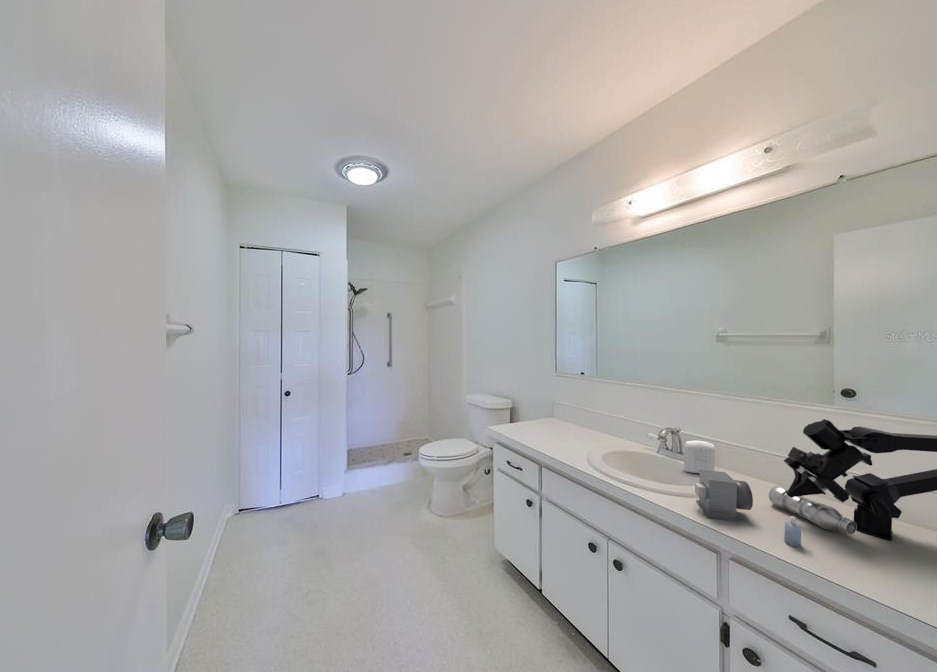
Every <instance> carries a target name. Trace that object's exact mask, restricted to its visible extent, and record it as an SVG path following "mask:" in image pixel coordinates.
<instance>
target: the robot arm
mask: <svg viewBox="0 0 937 672" xmlns="http://www.w3.org/2000/svg"><path fill="white" fill-rule="evenodd" d="M802 433H803V434H804V435H805V436H806V437H807V438H809V440H810V441H812V442H813V443H814V444H816V446H818V447H819V448H820V449H821V450H824V451H825V450H828V451H826V452H824V453H823V454H820V453H818V452H817V453H815V452H812V451H809V452H806V451H803V450H801V449H799V448H797V447H794V446H792V447H791V450H790V451H789V453H788V455H787V456H788V457H786V458H785V459H783V462H784V463H785V464H786V465H787V466H789V468H790V469H792V470H793V473H794V479H793V481H792V484H791V485H789V488H788V489H789V490H788V491H787V493H786V494H787V495H788V496H789V497H798V496H802V497H804V496H812V495H824V496H825V495H827V493H826V491H827V490H828V491H829V492H830V494H832V495H833V498H835V499H836V500H837V501H839V502H841V503H845V502H846V501H848V500H849V499H851V501H852V502H853V503H856V504H857V506H856V507H857V508H856V507H855V508H854V510H853V521H854V522H855V523H856V524H857V530H856V532H861V533H864V534H868V535H872V536H874V537H878V538H881V539H884V540H887V541H893V532H894V530H893V519H899V518H900V516H901V514H902V510H901V509H900V508H899V507H897V506H896V505H895V504H896V503H897V502H898V501H899V500H900V499H901V498H904V497H908V496H914V495H921V494H925V493H927V494H928V493H932V492H937V468H936V469H930V470H925V471H921V472H919V471H918V472H914V473H910V474H904V475H899V476H898V475H897V476H893V477H888V478H881V477H879V476H877V475H875V474H874V473H870V472H869V473H864V474H861V475H852V477H851V478H849V479H847V480H846V482H845V484H844V488H843V487H842V486H841V485H840V484H839V483H838V482H837V481H835V480H836V479H837V478H839V477H844V478H846V477H848V476H849V475H848V474H847V472H848V471H849V470H850V469H852V468H854V467H855V466H856V465H858V464H860V463H863V464H865V465H867V466H870V467H871V466H873V461H872V455H871V454H868V453H872V454H886V453H888V454H889V453H894V452H896V451H917V452H930V453H931V452H932V453H937V435H936V434H935V435H934V434H933V435H932V434H917V433H914V434H913V433H898V432H888V431H884V430H879V429H875V428H869V427H865V426H853V427H852V428H851V429H842V430H841V429H838V427H836V426H835V425H834V424H833V422H832V421H830V420H829V419H825V418H824V419H822V420H820V421H815V422H812V423H808V425H806V426H804V428H803V430H802ZM847 442H848V443H847ZM849 443H850V444H851V445H850V444H849ZM860 449H862V450H865V451H867V452H868V453H867V452H862V451H861V450H860Z"/></svg>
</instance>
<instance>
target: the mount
mask: <svg viewBox="0 0 937 672" xmlns="http://www.w3.org/2000/svg"><path fill="white" fill-rule="evenodd" d="M699 483H700V484H704V485H705V486H706V487H707V496H706V498H704V497H698V498H699V499H696V504H697V503H698V504H697V505H698V507H699V508H700V509H701V510H702V512H703V514H704V515H705V516H706V518H708V519H714V520H720V521H728V522H735V523H740V522H741V519H740V518H739V517H738V516H737V509H736V507H737V482H735V481H734V479H733V478H732V477H731V476H730V475H729V474H728V473H727V472H725V471H718V470H717V471H716V470H714V471H708V470H700V473H699Z"/></svg>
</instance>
